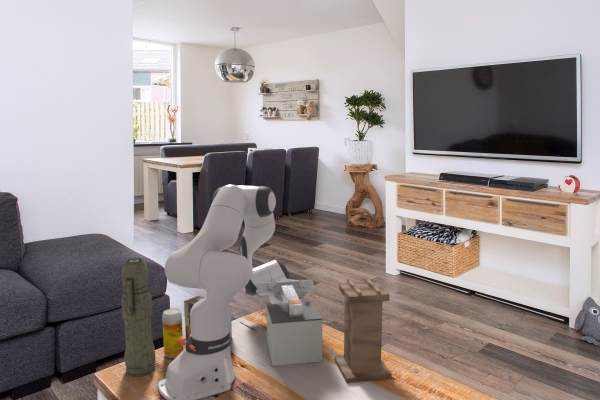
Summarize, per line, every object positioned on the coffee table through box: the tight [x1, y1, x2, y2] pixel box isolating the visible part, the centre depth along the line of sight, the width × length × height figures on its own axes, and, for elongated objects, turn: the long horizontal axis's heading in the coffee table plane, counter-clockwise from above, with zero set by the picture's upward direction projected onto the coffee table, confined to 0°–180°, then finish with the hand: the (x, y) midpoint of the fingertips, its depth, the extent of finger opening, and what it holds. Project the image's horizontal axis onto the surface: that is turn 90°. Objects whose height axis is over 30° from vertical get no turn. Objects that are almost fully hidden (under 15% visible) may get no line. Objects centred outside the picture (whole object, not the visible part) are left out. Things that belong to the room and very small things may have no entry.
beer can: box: [161, 308, 184, 359], centre depth 155 cm, size 6×6×15 cm
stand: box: [333, 277, 393, 384], centre depth 144 cm, size 14×14×27 cm
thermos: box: [120, 257, 156, 377], centre depth 144 cm, size 9×12×35 cm
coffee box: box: [183, 295, 205, 340], centre depth 161 cm, size 9×6×16 cm
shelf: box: [266, 300, 323, 367], centre depth 156 cm, size 15×16×14 cm
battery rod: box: [281, 284, 302, 318], centre depth 159 cm, size 21×4×4 cm, turn 10°
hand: (288, 283), depth 164 cm, fingers open, 8 cm apart
